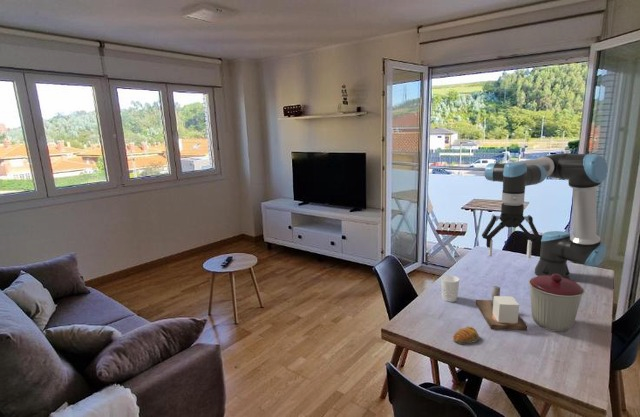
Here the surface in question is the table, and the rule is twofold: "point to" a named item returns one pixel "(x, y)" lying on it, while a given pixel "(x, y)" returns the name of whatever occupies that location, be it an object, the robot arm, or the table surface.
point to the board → (487, 313)
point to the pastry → (466, 335)
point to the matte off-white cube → (505, 309)
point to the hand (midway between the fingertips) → (509, 256)
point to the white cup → (449, 287)
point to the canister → (554, 301)
